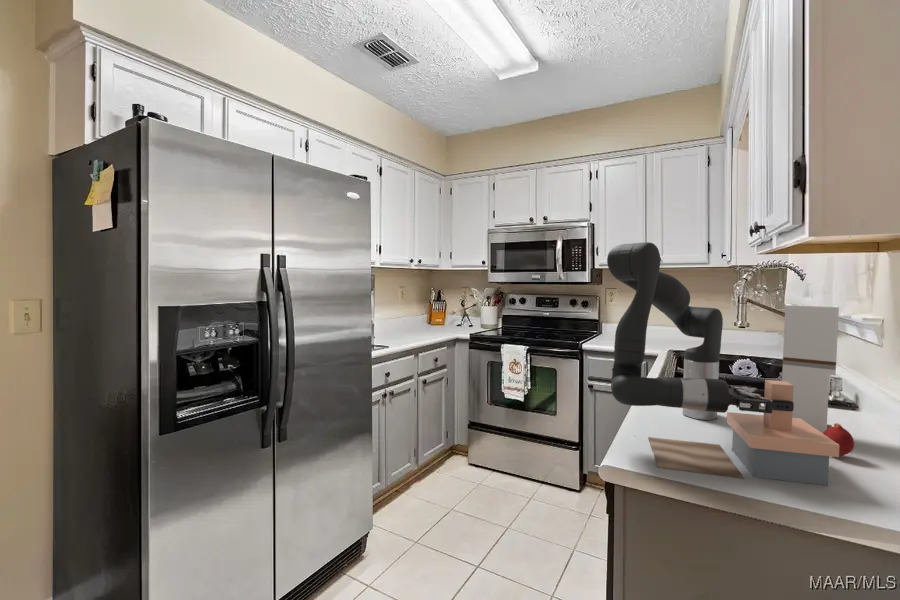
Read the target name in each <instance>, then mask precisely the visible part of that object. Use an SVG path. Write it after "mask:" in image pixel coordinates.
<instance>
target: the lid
mask: <svg viewBox="0 0 900 600" xmlns="http://www.w3.org/2000/svg"><path fill="white" fill-rule="evenodd" d="M764 390H765V394H764V398H770V399H777V400H790V401H792V402H793V390H794V385H792V384H790V383H788V382H786V381H782V380H773V379H765V380H764ZM763 406H764V407H765V404H763ZM792 412H793V411H792ZM792 412H790V411H778V410H773V411H772V413H770V414H769V413H763V414H753V413H741V412H732V411H731V412H728V411H726V423H727V424H728V425H729V426H730V427H731V429H732V431H733V430H734V431H735V432H736V433H737V434H738V435H739V436H740V437H741V438H742V439H743V440H744V442H745V443H746V444H747V445H748V446H749V447H750V448H757V449H767V450H776V451H785V452H794V453H804V454H813V455H822V456H829V457H831V458H840V457H839V444H837V443H836V442H834V441H833V440H831V439H830V438H828V437H827V436H826V435H824V434H823V433H821V432H820V431H818V430H817V429H815V428H814V427H812V426H811V425H809V424H808V423H806V422H805V421H804V420H802V419H801V418H792Z"/></svg>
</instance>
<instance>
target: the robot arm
mask: <svg viewBox="0 0 900 600" xmlns="http://www.w3.org/2000/svg"><path fill="white" fill-rule="evenodd" d="M606 264H607V268H608V270H609V272H610V274H611V275H612V276H613V277H614V279H616V280H617V281H619V282H621V283H622V284H624V285H625V286H628V287H629V288H631V289H632V290H635V294H634V297H633V298H632V301H631V302H630V304H629V305H628V307H627V309H626V310H625V312H624V313H623V315H622V316H621V318H620V319H619V322H618V323H617V326H616V328H615V335H614V336H615V337H614V345H613V346H614V349H613V350H614V351H613V354H614V355H613V360H614V361H613V368H612V375H611V380H610V381H611V383H610V390H611V393H612V395H613V398H614V399H615V400H616V401H617V402H618V403H621V404H622V405H625V406H635V407H648V406H649V407H651V406H660V407H667V408H677V409H679V408H680V409H682V415H684V416H686V417H688V418H692V419H697V420H701V421H712V420H716V419H717V418H718V413H723V414H724V413H727V412H728V410H729V406H735V407H736V408H738V410H739V411H741V412H754V413H763V414H764V413H769V414H770V413H772V411H773V410H778V411H790V412H792V411H793V410H794V403H793V402H792V401H790V400H777V399H770V398H764V394H765V389H758V388H757V387H753V386H751V385H734V384H728V383H727V381H726V380H724V379H719V378H720V377H719V375H720V374H719V373H720V368H719V367H720V354H721V347H722V334H723V327H724V326H723V324H724V320H723V314H722V311H721V310H720V309H718V308H715V307H705V306H704V307H702V306H701V307H699V306H689V305H690V302H691V294H690V291H689V290H688V288H687V287H686V286H685V285H684V284H683V283H682V282H681V281H680V280H679V279H677V278H676V277H674V276H672V275H670V274H668V273H665V272H662V271H660V267H661V254H660V250H659V248H658V247H657V245H656V244H654V243H653V242H648V241H647V242H646V241H645V242H636V243H635V242H634V243H633V242H632V243H623V244H622V243H621V244H619V245H616V246H614V247H612V248H611V249H610V250H609V252H608V254H607V257H606ZM652 306H654V307H655V308H656V309H657V310H659V312H661V313H663V314H664V315H665V316H666V317H667V318H668V319H669V320H670V321H671V322H672V323H673V324H674V325H675V326H676V328H678V330H679V332H681V333H682V334H683V335H685V336H687V337H692V338H700V339H701V338H702V339H703V343H701V344H700V345H698V346H695V347H694V346H693V347H689V348H687V349H685V350H684V355H683V356H684V357H683V377H671V376H659V377H655V378H654V377H644V376H643V377H642V369H643V368H642V366H643V363H644V360H645V355H646V353H645V352H646V341H647V329H648V328H647V327H648V322H649V318H650V312H651V309H652ZM762 404H763V405H762ZM764 404H765V407H764Z"/></svg>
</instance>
